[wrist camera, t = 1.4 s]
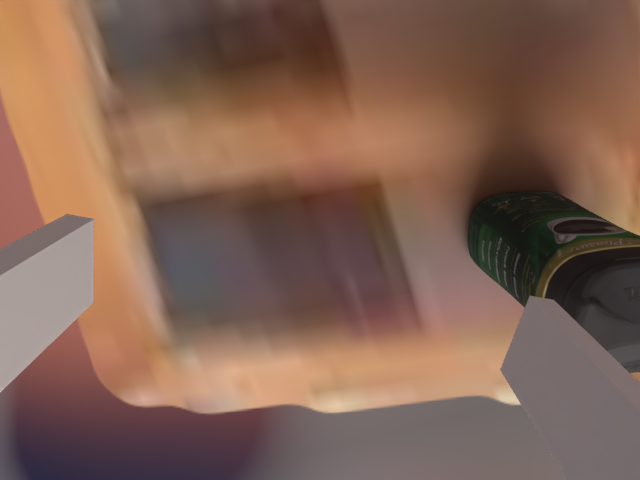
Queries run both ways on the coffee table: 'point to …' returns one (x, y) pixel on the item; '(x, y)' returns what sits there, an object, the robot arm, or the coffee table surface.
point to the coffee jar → (564, 263)
